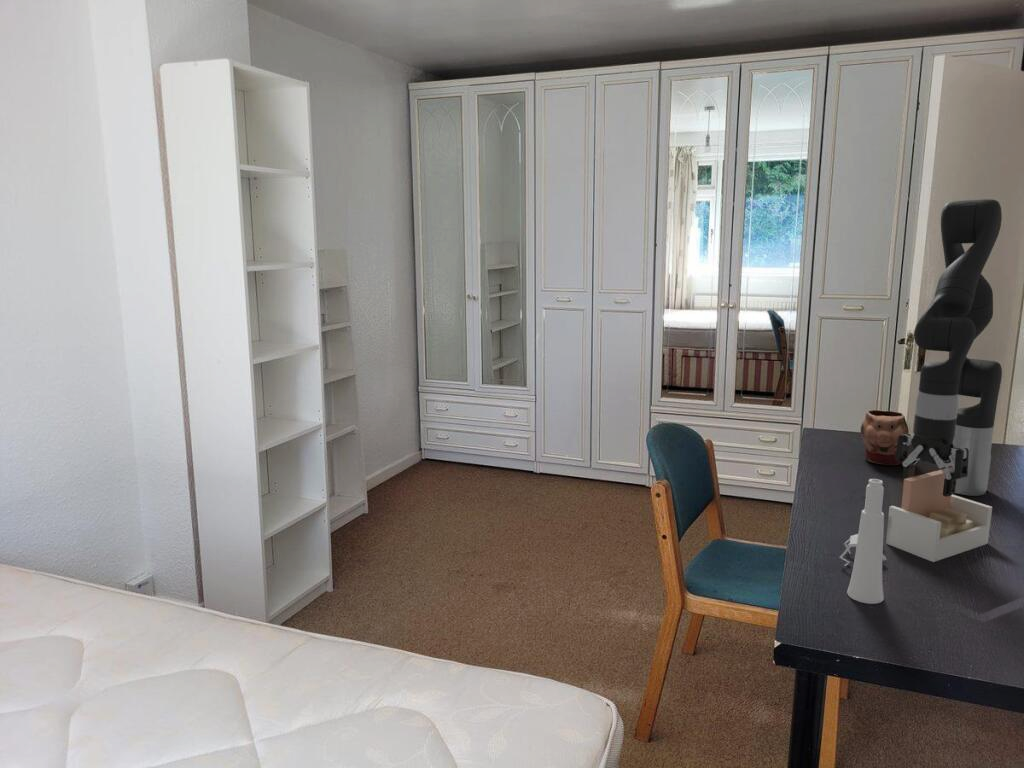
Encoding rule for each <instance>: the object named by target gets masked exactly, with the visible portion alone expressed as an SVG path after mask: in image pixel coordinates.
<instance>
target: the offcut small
mask: <svg viewBox="0 0 1024 768" xmlns="http://www.w3.org/2000/svg"><path fill="white" fill-rule="evenodd" d="M929 518H930V519H933V520H936V521H939V522H941V527H942V528H945V529H951V528H954V527H957V526H960V525H963V524H966V518H967V514H964V513H961V512H958V511H955V510H952V509H949V508H947V509H944V510H940V511H937V512H933V513H930V516H929Z"/></svg>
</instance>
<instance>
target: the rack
mask: <svg viewBox="0 0 1024 768" xmlns="http://www.w3.org/2000/svg"><path fill="white" fill-rule="evenodd" d="M888 508H889V509H888V517H887V518H888V519H887V530H886V536H885V538H886V539H885V544H886V545H889V546H892V547H894V548H896V549H899V550H902V551H905V552H907V553H910V554H912V555H915V556H917V557H919V558H922V559H925V560H927V561H929V562H932V563H934V562H938V561H941V560H943V559H946V558H950V557H952V556H955V555H958V554H961V553H964V552H967V551H970V550H973V549H976V548H979V547H982V546H985V545H987V544H988V543H989V537H990V528H991V523H992V522H991V520H992V514H993V512H992V511H993V506H991V505H987V504H984V503H981V502H978V501H974V500H972V499H968V498H965V497H962V496H959V495H955V494H952V495H951V501H950V509H952V510H955V511H958V512H961V513H964V514H967V518H966V519H967V520H970V521H973V527H972V529H969V530H966V531H962V532H959V533H956V534H953V535H950V536H947V537H944V538H941V539H940V531H941V522H939V521H936V520H933V519H930V518H927V517H925V516H922V515H919V514H916V513H913V512H910V511H907V510H904V509H901V507H898V506H895V505H891V506H889V507H888Z"/></svg>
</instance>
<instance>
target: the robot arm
mask: <svg viewBox="0 0 1024 768" xmlns="http://www.w3.org/2000/svg"><path fill="white" fill-rule="evenodd" d="M1002 216H1003V214H1002V207H1001V204H1000V202H999V201H998V200H996V199H993V198H992V199H989V198H987V199H983V198H981V199H968V200H967V199H966V200H953V201H949V202H947V203H946V204H945V205H944V206H943V207H942V210H941V215H940V232H941V242H942V248H943V256H944V265H945V269H944V271H943V272H942V273H941V275H940V277H939V279H938V282H937V286H936V289H935V293H934V295H933V300H932V301H931V303H930V304H929V306H928V308H927V309H926V310H925V311H924V313H923V314H922V315H921V317H920V318H919V320H918V321H917V324H915V328H914V332H913V338H914V343H915V344H916V346H917V347H918V348H919V349H922V350H926V351H934V352H935V351H936V352H945V353H946V352H948V359H945V360H941V361H930V362H926V363H924V364H923V365H922V366H921V369H920V374H919V384H918V385H919V386H918V391H917V396H916V400H915V410H914V418H913V429H912V433H913V436H911V434H910V433H909V434H903V435H900V436H899V437H898V443H897V450H896V456H895V460H896V461H897V462H900V464H901V465H902V466H903V471H902V480H903V482H904V479H906V478H910V477H914V476H915V474H916V473H915V472H916V466H914V465H916V463H918V462H919V461H922V462H928V463H930V464H934V465H936V466H937V467H938V470H942V472H943V473H944V475H945V477H946V478H945V479H944V487H943V496H946V497H948V496H951V495H955V494H958V495H965V496H971V497H972V496H973V497H974V496H976V497H977V496H982V495H985V494H986V491H987V490H988V485H989V476H990V470H991V469H990V468H991V460H992V453H991V451H992V444H993V436H994V426H995V421H996V420H995V418H996V414H997V413H996V412H997V406H998V399H999V394H1000V393H999V392H1000V389H1001V383H1002V378H1003V369H1002V365H1001V363H1000V362H998V361H995V360H986V359H978V358H968V357H967V356H968V354H969V351H970V349H971V348H972V345H973V343H974V341H975V339H976V338H977V337H979V335H980V334H982V332H984V330H985V329H986V328H987V327H988V326H989V324H990V322H991V321H992V319H993V316H994V295H993V294H994V293H993V288H992V286H991V285H990V282H989V281H988V280H987V279H986V278H985V277H984V275H983V274H982V272H983V270H984V267H985V266H986V263H987V261H988V259H989V257H990V255H991V253H992V251H993V248H994V247H995V244H996V243H997V242H996V241H997V239H998V237H999V234H1000V230H1001V227H1002ZM963 244H972V245H971V246H970V247H969V248H968V249H967V250H966V251H965V249H964V246H963ZM959 396H966V397H971V398H978V399H979V398H980V401H979V403H977V404H975V405H972V406H967V407H961V408H960V407H959ZM911 445H912V447H913V451H911V453H909V451H910V446H911Z"/></svg>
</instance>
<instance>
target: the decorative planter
mask: <svg viewBox="0 0 1024 768" xmlns="http://www.w3.org/2000/svg"><path fill="white" fill-rule="evenodd" d="M903 434H910V432H909V426H908V423H907V421H906V416H905V414H904V413H902V412H899V411H893V410H882V409H875V410H874V409H871V410H867V411H866V413H865V418H864V420H863V421H862V423H861V425H860V436H861V438H862V441H863V444H864V448H865V454H864V458H865V460H866V461H868V462H870V463H873V464H879V465H885V466H886V465H887V466H898V465H900V464H901V463H900V462H897V461H896V460H895V456H896V450H897V443H898V437H899V436H900V435H903Z"/></svg>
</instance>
